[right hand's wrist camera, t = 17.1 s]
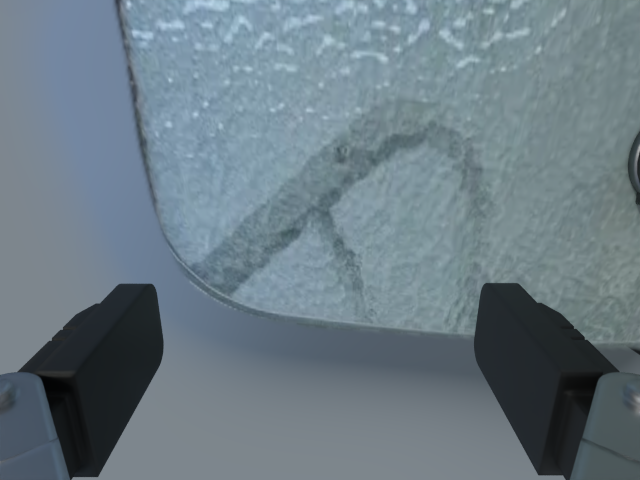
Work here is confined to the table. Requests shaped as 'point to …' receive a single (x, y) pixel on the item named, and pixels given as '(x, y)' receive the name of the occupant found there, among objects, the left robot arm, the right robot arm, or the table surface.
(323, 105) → the table surface
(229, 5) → the table surface
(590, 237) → the table surface
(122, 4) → the table surface
